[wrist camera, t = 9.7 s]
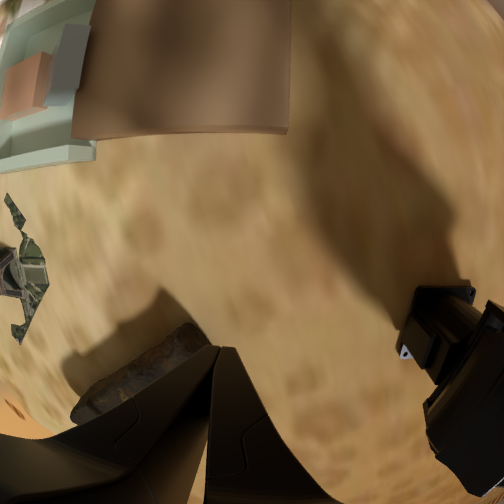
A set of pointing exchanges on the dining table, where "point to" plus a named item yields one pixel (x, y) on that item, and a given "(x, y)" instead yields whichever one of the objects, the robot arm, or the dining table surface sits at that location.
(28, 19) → the tray
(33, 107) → the tile terracotta
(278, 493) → the robot arm
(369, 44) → the dining table surface
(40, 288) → the eiffel tower figurine
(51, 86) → the tile slate
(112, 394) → the hand tool
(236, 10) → the plate
